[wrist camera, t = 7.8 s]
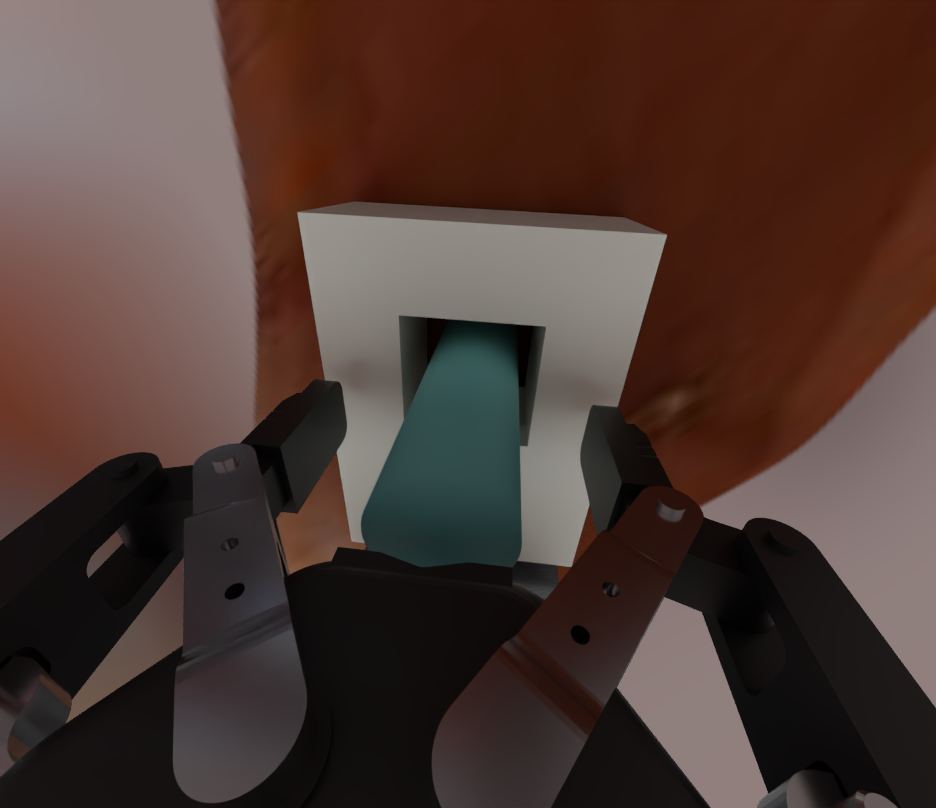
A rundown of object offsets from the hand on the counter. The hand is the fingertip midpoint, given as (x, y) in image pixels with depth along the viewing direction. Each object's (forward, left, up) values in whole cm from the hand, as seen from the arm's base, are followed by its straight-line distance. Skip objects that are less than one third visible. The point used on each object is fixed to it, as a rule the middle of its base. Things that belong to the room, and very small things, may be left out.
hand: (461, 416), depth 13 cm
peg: (0, 0, -7) cm, 7 cm away
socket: (+2, 0, -7) cm, 7 cm away
